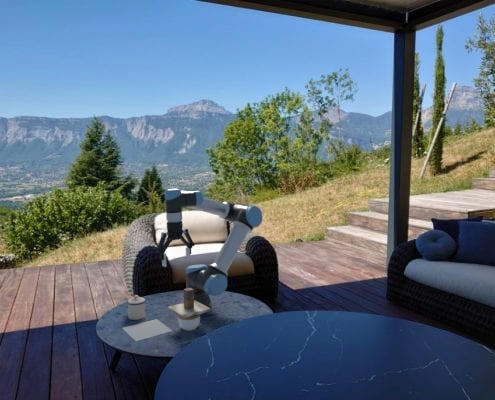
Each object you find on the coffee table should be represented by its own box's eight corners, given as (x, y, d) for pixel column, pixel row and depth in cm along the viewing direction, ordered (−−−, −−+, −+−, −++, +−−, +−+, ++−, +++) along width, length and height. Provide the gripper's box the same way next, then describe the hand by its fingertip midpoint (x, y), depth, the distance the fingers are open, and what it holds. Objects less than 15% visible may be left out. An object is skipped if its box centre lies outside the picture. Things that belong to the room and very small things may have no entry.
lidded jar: (202, 324, 202) (202, 306, 201) (198, 334, 191) (197, 314, 190) (181, 324, 203) (180, 305, 202) (175, 333, 192) (175, 314, 191)
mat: (156, 319, 208) (156, 318, 208) (172, 331, 194) (172, 330, 194) (121, 329, 198) (121, 328, 198) (135, 342, 183) (135, 341, 183)
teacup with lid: (149, 316, 213) (148, 294, 211) (135, 322, 206) (134, 299, 204) (135, 311, 220) (134, 290, 219) (121, 316, 213) (120, 295, 212)
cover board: (195, 302, 206) (194, 282, 205) (210, 311, 194) (210, 290, 194) (167, 309, 197) (167, 288, 196) (182, 318, 185) (182, 296, 185)
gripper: (191, 216, 209) (193, 257, 211) (147, 223, 193) (149, 267, 195) (200, 218, 203) (201, 259, 206) (155, 225, 187) (157, 270, 189)
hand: (176, 263), depth 200 cm, fingers open, 13 cm apart
